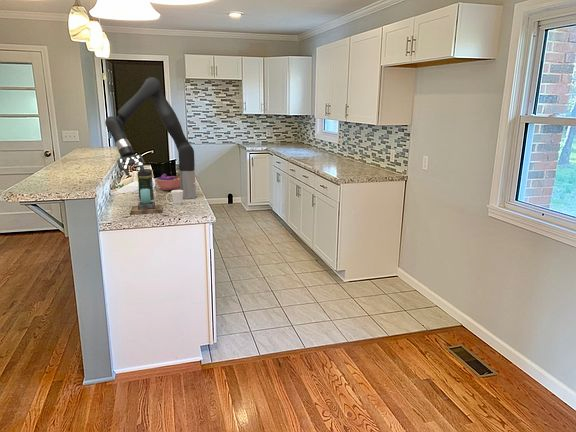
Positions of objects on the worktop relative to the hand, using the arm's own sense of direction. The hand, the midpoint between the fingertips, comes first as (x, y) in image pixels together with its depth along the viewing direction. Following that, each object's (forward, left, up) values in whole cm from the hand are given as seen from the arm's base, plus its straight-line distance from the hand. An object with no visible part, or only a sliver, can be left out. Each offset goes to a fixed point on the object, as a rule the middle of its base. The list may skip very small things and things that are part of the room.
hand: (136, 173), depth 246 cm
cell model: (-17, -43, -19) cm, 50 cm away
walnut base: (-5, +14, -19) cm, 24 cm away
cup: (-20, +1, -19) cm, 28 cm away
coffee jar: (-3, -17, -19) cm, 26 cm away
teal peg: (-5, +14, -17) cm, 22 cm away
